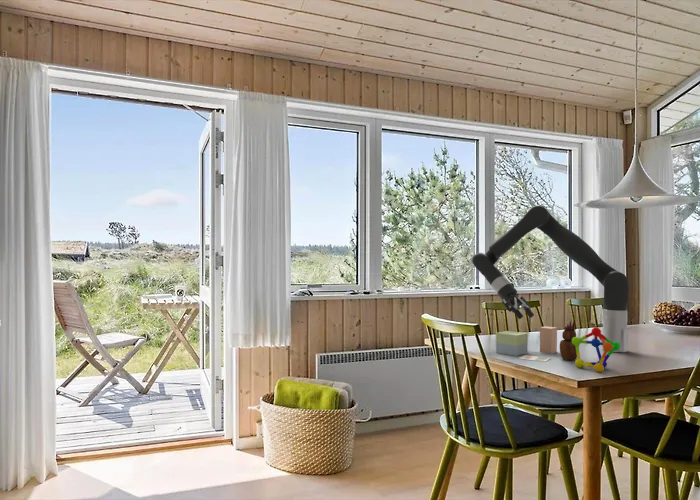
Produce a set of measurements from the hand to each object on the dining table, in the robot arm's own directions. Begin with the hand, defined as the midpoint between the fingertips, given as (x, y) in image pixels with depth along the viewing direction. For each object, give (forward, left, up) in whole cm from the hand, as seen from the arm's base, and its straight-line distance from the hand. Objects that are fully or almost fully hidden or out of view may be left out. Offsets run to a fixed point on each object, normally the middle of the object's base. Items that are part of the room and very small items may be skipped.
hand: (527, 317), depth 236 cm
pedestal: (-1, +15, -13) cm, 20 cm away
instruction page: (-13, +20, -13) cm, 27 cm away
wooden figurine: (-23, +12, -13) cm, 29 cm away
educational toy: (-36, +21, -13) cm, 44 cm away
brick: (-10, +1, -13) cm, 16 cm away
